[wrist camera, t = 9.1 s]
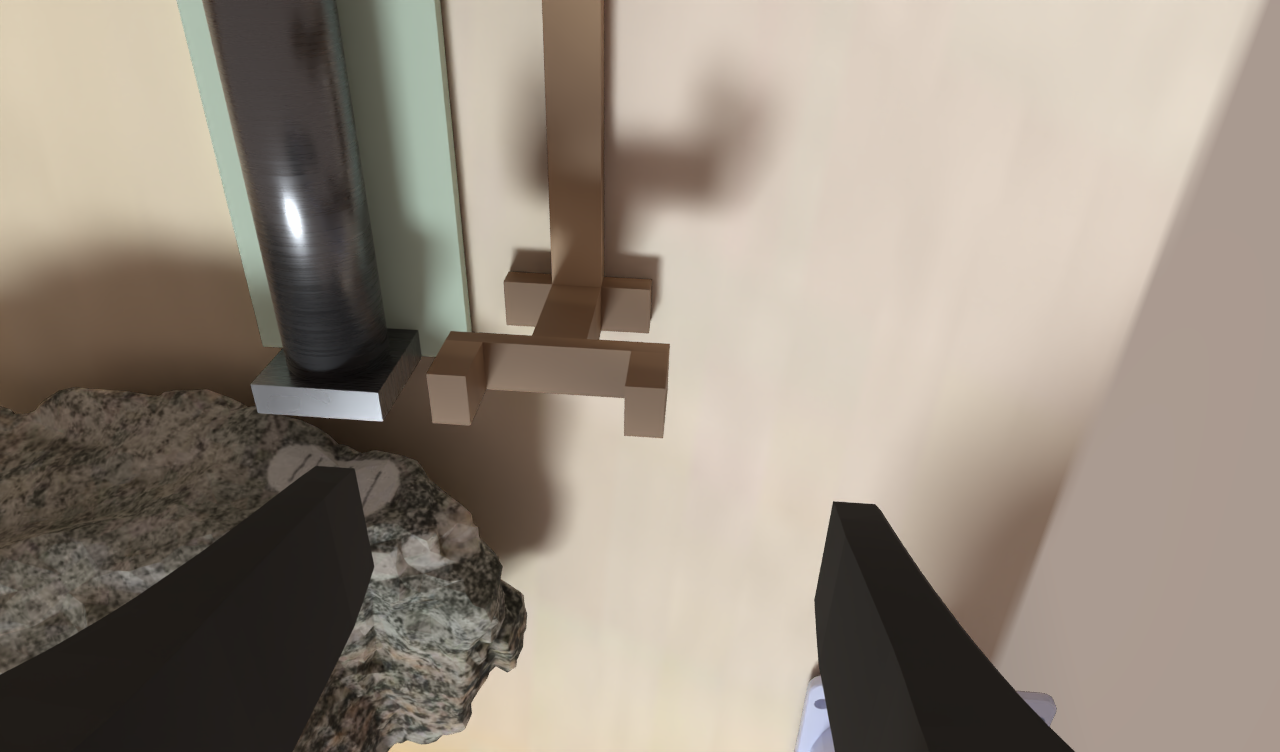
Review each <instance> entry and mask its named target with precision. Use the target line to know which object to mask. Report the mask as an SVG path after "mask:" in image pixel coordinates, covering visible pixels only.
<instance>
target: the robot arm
mask: <svg viewBox="0 0 1280 752" xmlns="http://www.w3.org/2000/svg"><path fill="white" fill-rule="evenodd" d="M373 570H374V562H373V557H372V552H371V547H370V542H369V537H368V532H367V527H366V522H365V517H364V512H363V507H362V502H361V497H360V492H359V487H358V482H357V477H356V472H355V468H341V467H327V466H315V467H313V468H312V469H311V470H309V471H308V472H306V473H305V474H304V475H302V476H301V477H300V478H298V479H297V480H296V481H294V482H293V483H292V484H290V485H289V486H288V487H286V488H285V489H284V490H282V491H281V492H280V493H278V494H277V495H276V496H275V497H273V498H272V499H271V500H269V501H268V502H267V503H265V504H264V505H263V506H262V507H260V508H259V509H258V510H256V511H255V512H254V513H252V514H251V515H250V516H249V517H247V518H246V519H245V520H243V521H242V522H241V523H239V524H238V525H237V526H235V527H234V528H233V529H231V530H230V531H229V532H227V533H226V534H225V535H223V536H222V537H221V538H219V539H218V540H217V541H215V542H214V543H213V544H211V545H210V546H209V547H207V548H206V549H204V550H203V551H202V552H200V553H199V554H198V555H196V556H195V557H193V558H192V559H190V560H189V561H187V562H186V563H184V564H183V565H182V566H180V567H179V568H177V569H176V570H174V571H173V572H171V573H170V574H169V575H167V576H166V577H164V578H163V579H161V580H160V581H158V582H157V583H155V584H154V585H153V586H151V587H150V588H148V589H147V590H145V591H144V592H142V593H141V594H139V595H138V596H137V597H135V598H133V599H132V600H130V601H129V602H127V603H126V604H124V605H123V606H121V607H119V608H118V609H116V610H115V611H113V612H111V613H110V614H108V615H106V616H105V617H103V618H102V619H100V620H98V621H97V622H95V623H93V624H91V625H90V626H88V627H86V628H85V629H83V630H81V631H80V632H78V633H76V634H74V635H73V636H71V637H69V638H68V639H66V640H64V641H63V642H61V643H59V644H57V645H55V646H54V647H52V648H50V649H48V650H46V651H45V652H43V653H41V654H39V655H37V656H35V657H33V658H31V659H29V660H27V661H25V662H23V663H22V664H20V665H18V666H16V667H14V668H12V669H10V670H8V671H6V672H4V673H2V674H0V752H293V750H294V748H295V746H296V744H297V742H298V740H299V738H300V736H301V734H302V732H303V730H304V728H305V726H306V724H307V722H308V720H309V718H310V716H311V714H312V712H313V710H314V708H315V706H316V704H317V702H318V700H319V698H320V696H321V694H322V692H323V690H324V688H325V686H326V684H327V682H328V680H329V678H330V676H331V674H332V672H333V670H334V668H335V666H336V664H337V662H338V660H339V658H340V656H341V654H342V651H343V649H344V647H345V645H346V643H347V641H348V639H349V637H350V635H351V633H352V631H353V629H354V626H355V623H356V620H357V618H358V615H359V612H360V609H361V606H362V604H363V601H364V598H365V595H366V592H367V589H368V586H369V582H370V579H371V576H372V573H373ZM814 601H815V618H816V634H817V648H818V661H819V669H820V674H821V676H817V677H814V678H813V679H811V680H810V681H809V683H808V687H807V692H806V697H805V702H804V707H803V712H802V717H801V722H800V727H799V732H798V737H797V742H796V747H795V752H1074V750H1073V749H1071V748H1070V747H1069V746H1068V745H1067V744H1066V743H1065V742H1064V741H1063V740H1062V739H1061V738H1060V737H1059V736H1058V735H1057V734H1056V733H1055V732H1054V731H1053V730H1052V729H1051V728H1050V725H1051V722H1052V720H1053V718H1054V716H1055V714H1056V709H1057V708H1056V705H1055V703H1054V700H1053V699H1052V697H1051V696H1049V695H1047V694H1044V693H1037V692H1025V691H1015V690H1014V689H1013V687H1012V686H1011V685H1010V684H1009V683H1008V682H1007V681H1006V680H1005V679H1004V677H1003V676H1002V675H1001V674H1000V673H999V671H998V670H997V669H996V668H995V667H994V666H993V664H992V663H991V662H990V661H989V660H988V658H987V657H986V656H985V655H984V654H983V652H982V651H981V650H980V649H979V648H978V646H977V645H976V644H975V643H974V642H973V640H972V639H971V638H970V636H969V635H968V634H967V633H966V631H965V630H964V629H963V628H962V626H961V625H960V624H959V623H958V621H957V620H956V619H955V617H954V616H953V615H952V613H951V612H950V611H949V609H948V608H947V606H946V605H945V604H944V602H943V601H942V600H941V598H940V597H939V596H938V594H937V593H936V592H935V590H934V589H933V588H932V586H931V585H930V584H929V582H928V581H927V579H926V578H925V576H924V575H923V574H922V572H921V571H920V569H919V568H918V566H917V565H916V563H915V562H914V561H913V559H912V558H911V556H910V555H909V553H908V552H907V550H906V549H905V547H904V546H903V544H902V543H901V541H900V540H899V538H898V537H897V535H896V533H895V532H894V530H893V529H892V527H891V526H890V524H889V523H888V521H887V519H886V518H885V516H884V515H883V513H882V512H881V510H880V509H879V508H878V507H877V506H876V505H875V504H863V503H848V502H834V501H833V505H832V511H831V516H830V521H829V526H828V532H827V537H826V542H825V547H824V553H823V558H822V563H821V568H820V574H819V579H818V584H817V589H816V595H815V600H814Z"/></svg>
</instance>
